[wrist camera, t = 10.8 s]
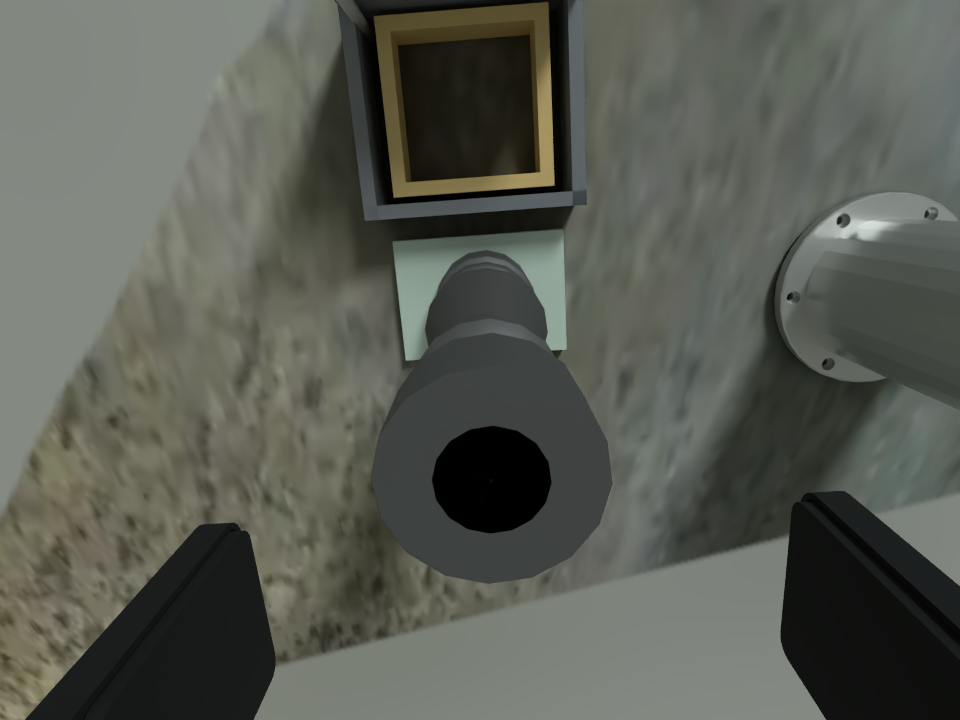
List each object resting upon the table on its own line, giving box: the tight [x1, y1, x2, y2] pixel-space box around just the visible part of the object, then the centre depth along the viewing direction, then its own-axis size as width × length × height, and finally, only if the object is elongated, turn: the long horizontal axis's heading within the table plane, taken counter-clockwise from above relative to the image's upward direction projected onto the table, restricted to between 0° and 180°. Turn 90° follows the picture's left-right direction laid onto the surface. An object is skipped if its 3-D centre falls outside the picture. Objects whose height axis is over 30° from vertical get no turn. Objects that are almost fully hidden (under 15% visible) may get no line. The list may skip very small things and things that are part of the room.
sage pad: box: [392, 228, 567, 361], centre depth 38 cm, size 11×8×1 cm
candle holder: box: [371, 250, 612, 584], centre depth 25 cm, size 6×6×25 cm
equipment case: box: [335, 0, 587, 221], centre depth 28 cm, size 13×12×14 cm
